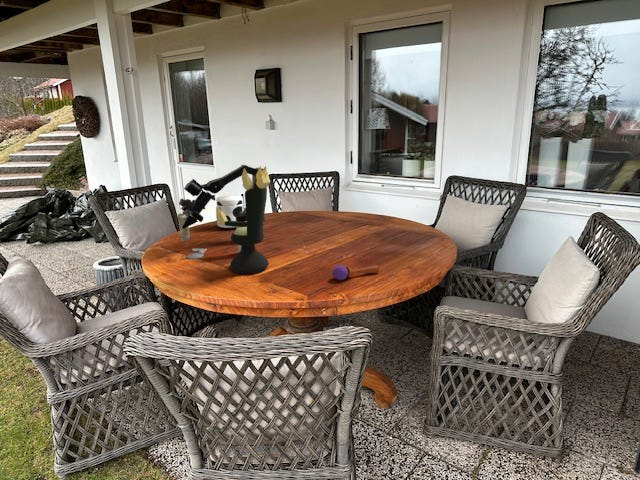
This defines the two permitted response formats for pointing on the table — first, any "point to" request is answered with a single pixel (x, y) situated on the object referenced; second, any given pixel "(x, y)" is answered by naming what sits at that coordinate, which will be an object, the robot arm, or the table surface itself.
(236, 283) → the table surface
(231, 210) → the milk container
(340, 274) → the kendama
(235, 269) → the candelabra
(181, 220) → the ringed post
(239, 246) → the travel mug
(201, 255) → the coaster
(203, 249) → the bent rod
